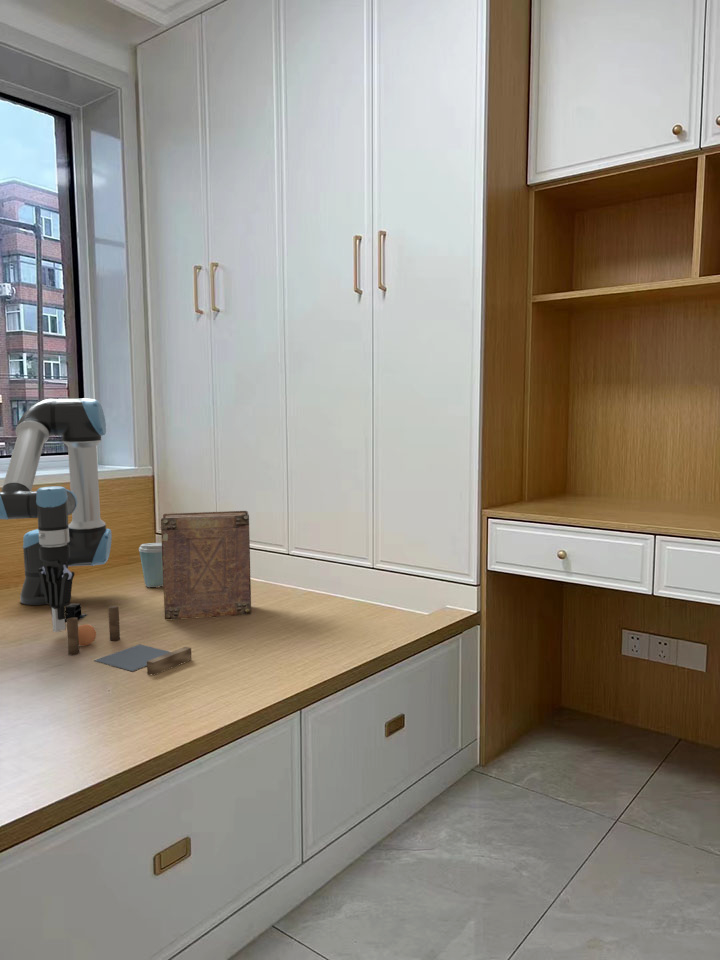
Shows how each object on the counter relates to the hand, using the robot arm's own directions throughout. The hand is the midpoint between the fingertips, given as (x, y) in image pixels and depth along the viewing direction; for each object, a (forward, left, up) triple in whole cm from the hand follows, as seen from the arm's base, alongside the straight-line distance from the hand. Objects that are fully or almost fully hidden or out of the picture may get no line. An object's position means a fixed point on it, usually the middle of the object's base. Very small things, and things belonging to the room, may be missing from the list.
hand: (59, 630), depth 197 cm
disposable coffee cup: (-53, -22, -2) cm, 57 cm away
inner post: (-6, +15, -2) cm, 16 cm away
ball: (+1, +12, +1) cm, 12 cm away
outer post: (+6, +15, -2) cm, 16 cm away
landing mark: (0, +31, -2) cm, 31 cm away
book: (-38, +18, -2) cm, 42 cm away
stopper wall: (0, +43, -2) cm, 43 cm away
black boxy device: (-13, -13, -3) cm, 19 cm away
